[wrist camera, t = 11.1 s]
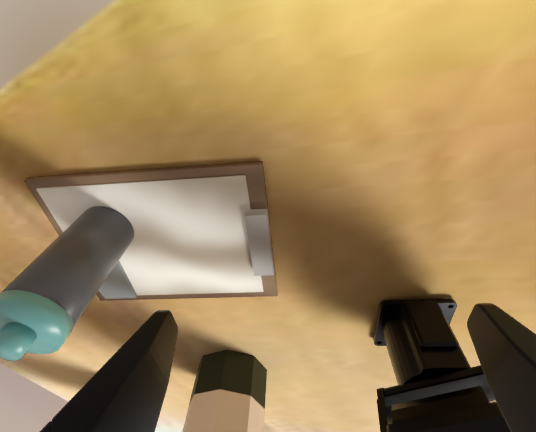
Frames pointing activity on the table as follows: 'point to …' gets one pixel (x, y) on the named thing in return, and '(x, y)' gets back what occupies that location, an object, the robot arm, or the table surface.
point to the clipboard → (176, 228)
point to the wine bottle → (227, 394)
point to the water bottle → (61, 283)
